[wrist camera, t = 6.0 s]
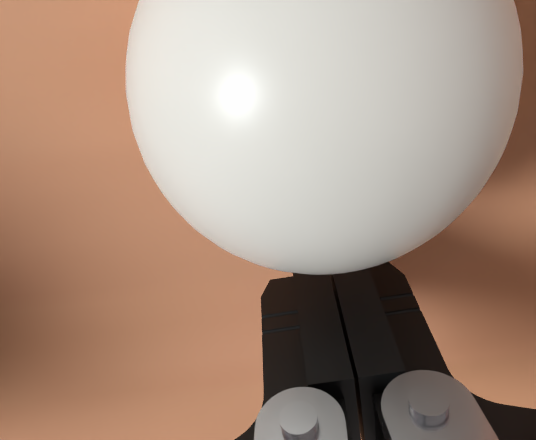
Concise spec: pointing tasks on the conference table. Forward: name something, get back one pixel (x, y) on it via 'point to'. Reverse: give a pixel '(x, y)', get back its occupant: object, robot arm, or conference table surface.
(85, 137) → the conference table surface
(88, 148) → the conference table surface
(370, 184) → the white cue ball
